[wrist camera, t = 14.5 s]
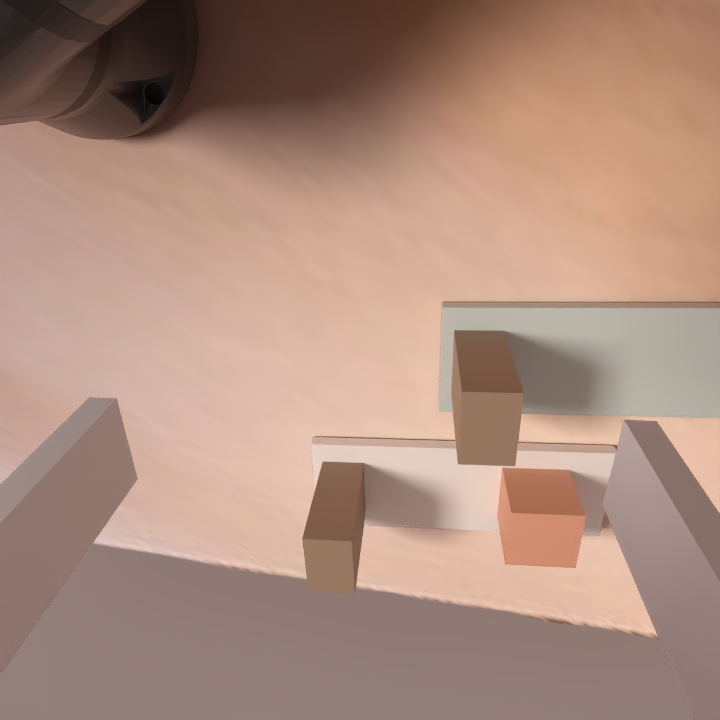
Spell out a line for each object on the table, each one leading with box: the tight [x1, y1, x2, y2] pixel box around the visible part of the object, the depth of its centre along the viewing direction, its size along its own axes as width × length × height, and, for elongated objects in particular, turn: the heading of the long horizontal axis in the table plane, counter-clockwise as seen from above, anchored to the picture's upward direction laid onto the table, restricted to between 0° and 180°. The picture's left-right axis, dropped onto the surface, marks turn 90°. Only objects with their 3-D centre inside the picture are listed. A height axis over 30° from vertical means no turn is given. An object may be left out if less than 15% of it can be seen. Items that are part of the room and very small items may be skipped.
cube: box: [497, 468, 586, 568], centre depth 49 cm, size 6×6×6 cm
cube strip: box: [302, 437, 616, 593], centre depth 49 cm, size 28×10×11 cm, turn 92°
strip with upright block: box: [439, 302, 720, 466], centre depth 41 cm, size 28×10×11 cm, turn 92°
